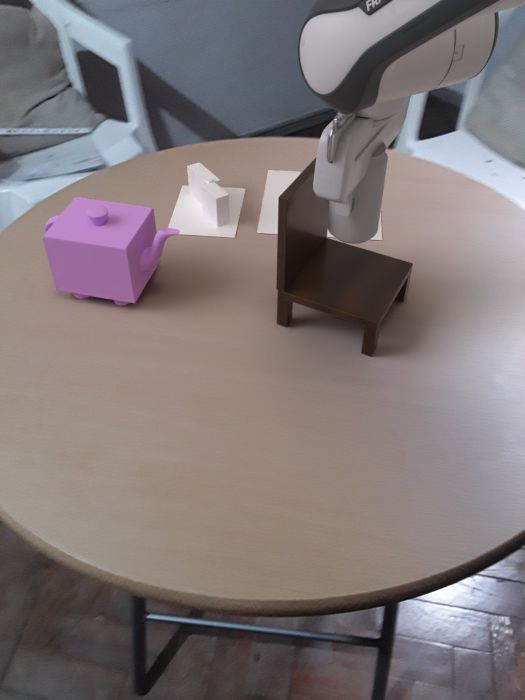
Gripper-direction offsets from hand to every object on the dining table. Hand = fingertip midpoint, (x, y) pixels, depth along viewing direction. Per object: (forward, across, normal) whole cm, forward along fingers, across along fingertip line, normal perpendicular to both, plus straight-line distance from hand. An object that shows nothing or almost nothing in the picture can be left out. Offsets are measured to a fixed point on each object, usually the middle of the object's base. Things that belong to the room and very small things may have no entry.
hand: (356, 197), depth 83 cm
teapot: (+18, -10, +31) cm, 38 cm away
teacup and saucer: (+18, +24, +14) cm, 33 cm away
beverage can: (+5, 0, 0) cm, 5 cm away
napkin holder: (+18, +13, +30) cm, 38 cm away
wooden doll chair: (+18, 0, 0) cm, 18 cm away
